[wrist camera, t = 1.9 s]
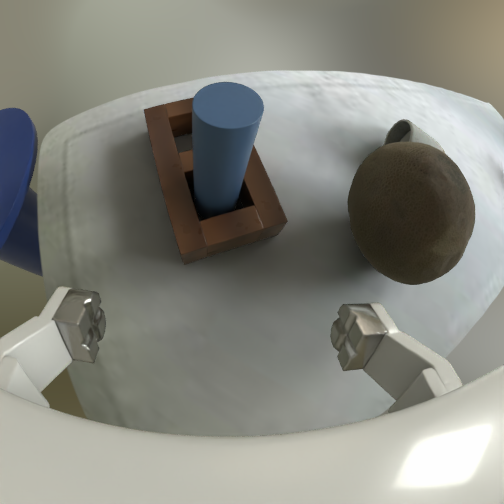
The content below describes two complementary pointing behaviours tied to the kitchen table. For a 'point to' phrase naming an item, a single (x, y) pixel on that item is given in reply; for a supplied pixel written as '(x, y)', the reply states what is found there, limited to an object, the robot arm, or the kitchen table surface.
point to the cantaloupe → (411, 212)
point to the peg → (222, 144)
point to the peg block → (182, 180)
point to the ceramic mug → (409, 134)
